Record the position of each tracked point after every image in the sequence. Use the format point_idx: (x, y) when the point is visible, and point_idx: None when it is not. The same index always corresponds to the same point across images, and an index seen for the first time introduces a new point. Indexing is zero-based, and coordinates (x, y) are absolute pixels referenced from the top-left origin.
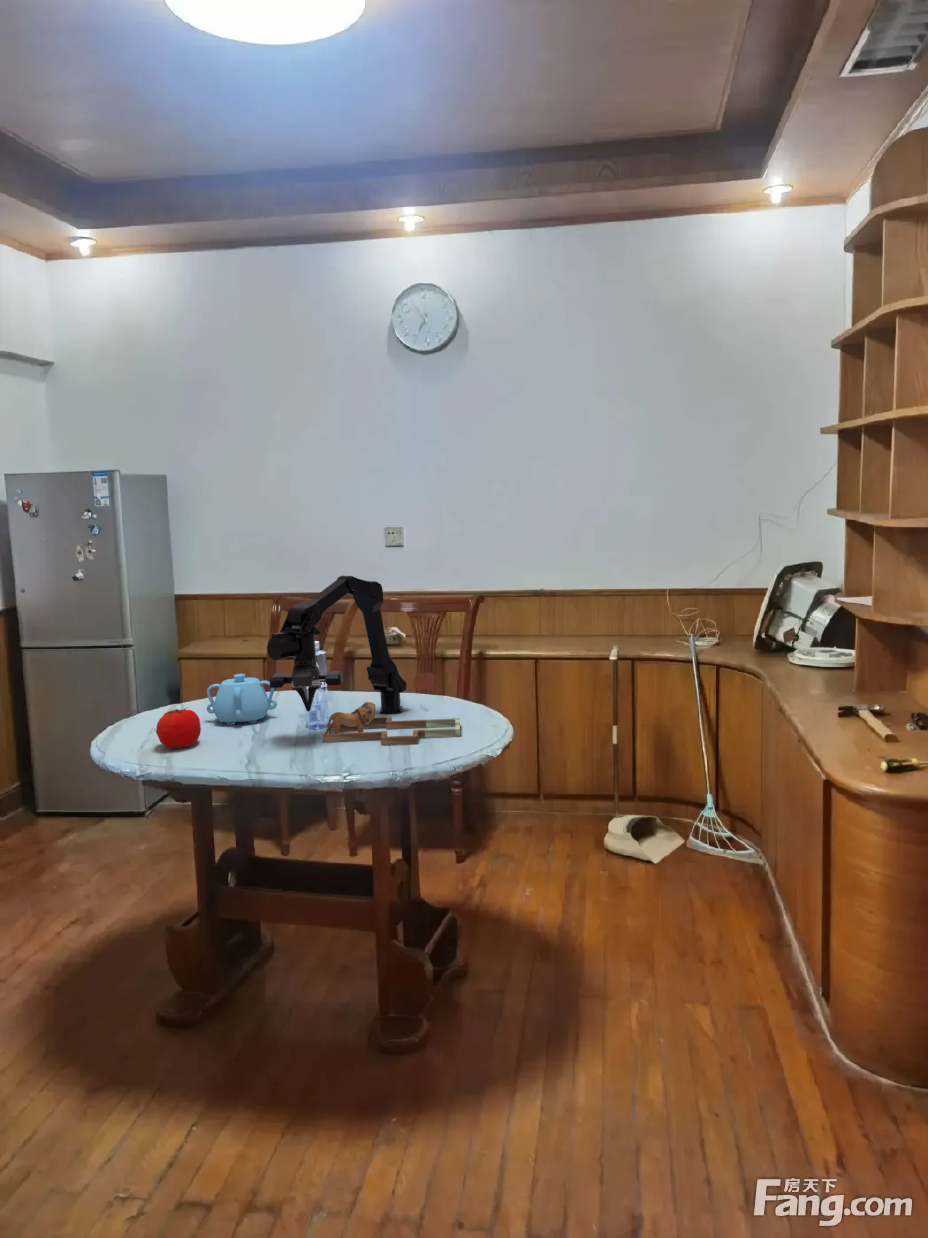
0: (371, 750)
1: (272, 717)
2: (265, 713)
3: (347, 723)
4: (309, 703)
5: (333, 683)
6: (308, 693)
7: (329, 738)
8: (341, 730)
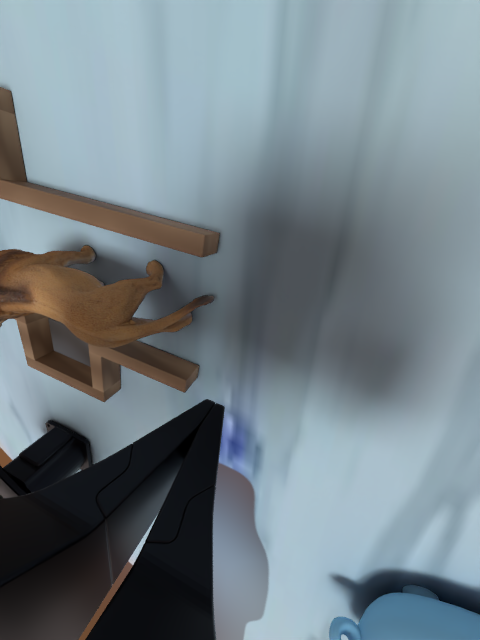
0: (23, 8)
1: (344, 583)
2: (378, 609)
3: (84, 274)
4: (176, 431)
5: None
6: (103, 521)
7: (182, 226)
8: (155, 350)
